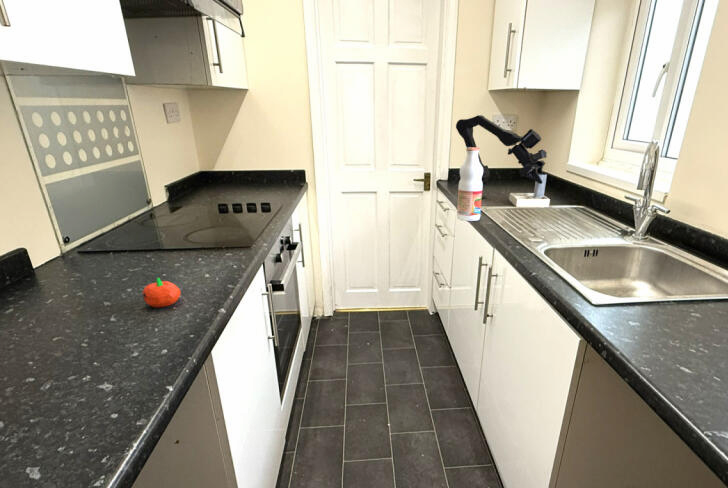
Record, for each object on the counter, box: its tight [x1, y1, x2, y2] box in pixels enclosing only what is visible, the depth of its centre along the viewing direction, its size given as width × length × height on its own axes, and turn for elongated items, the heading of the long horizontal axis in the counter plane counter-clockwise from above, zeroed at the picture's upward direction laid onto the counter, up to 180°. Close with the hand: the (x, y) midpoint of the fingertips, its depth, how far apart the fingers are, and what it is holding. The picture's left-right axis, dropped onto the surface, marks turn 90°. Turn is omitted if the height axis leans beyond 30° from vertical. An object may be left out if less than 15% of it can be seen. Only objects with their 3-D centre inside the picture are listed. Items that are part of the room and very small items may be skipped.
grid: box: [508, 192, 551, 208], centre depth 195 cm, size 15×15×4 cm
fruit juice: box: [456, 146, 483, 222], centre depth 163 cm, size 9×9×28 cm
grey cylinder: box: [533, 172, 548, 197], centre depth 189 cm, size 4×4×10 cm
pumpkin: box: [142, 277, 182, 308], centre depth 93 cm, size 7×8×6 cm
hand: (543, 182), depth 187 cm, fingers closed on grey cylinder, 4 cm apart
